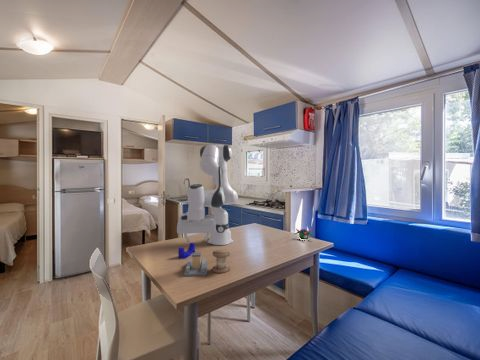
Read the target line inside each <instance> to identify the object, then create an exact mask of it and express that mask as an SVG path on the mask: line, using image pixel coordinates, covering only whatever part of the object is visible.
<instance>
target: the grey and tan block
mask: <svg viewBox="0 0 480 360" xmlns="http://www.w3.org/2000/svg"><path fill="white" fill-rule="evenodd" d="M201 254H202V253H201V252H198V251H197V252H194V253H192V254H191V258H192V269H200V266H201V260H202V259H201Z"/></svg>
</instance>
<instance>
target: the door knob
mask: <svg viewBox="0 0 480 360" xmlns="http://www.w3.org/2000/svg"><path fill="white" fill-rule="evenodd" d="M230 255H231V252H230V250H228V249H217V250H214V251H213V252H212V257H215V259H216V263H215V264H216V265H214V266H212V272H214V273H216V274H225V273H228V272H230V270H231V268H230V266H229V265H228V264H227V257H230Z"/></svg>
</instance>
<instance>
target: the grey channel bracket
mask: <svg viewBox="0 0 480 360" xmlns="http://www.w3.org/2000/svg"><path fill="white" fill-rule="evenodd" d="M201 260H202V261H201V266H200V269H192V257H188V261H187V262H186V266H185V269H184V273H183V277H196V276H197V277H198V276H207V273H208V261H207V259H206V257H202V259H201Z"/></svg>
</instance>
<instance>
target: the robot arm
mask: <svg viewBox="0 0 480 360" xmlns="http://www.w3.org/2000/svg"><path fill="white" fill-rule="evenodd" d="M232 156H233V150H232V147H231V146H230V145H228V144H208V145H204V146H202V147H201V148H200V150H199V157H200V161H199V162H200V163H199V167H200V169H201V172H203V173H204V174H206V175H207V176H211V178H212V182H213V184H215V188H213V189H205V187H204V185H203V184H200V183H197V184H196V183H195V184H191V185H189V186H188V188H187V189H188V191H187V204H188V208H187V212H183V213H181V214H180V215H179V217H178V218H179V220H178V221H177V226H176V233H177V234H178V235H183V237H184V238H185V239H186V240H185V242H186V243H187V242H189V243H190V237H188V236H187V235H189V234H206V236H204V242H207V244H211V245H214V246H225V245H229V244H232V243H234V240H233V238H232V234H231V233H232V232H231V230H230V229H229V228H230V227H229V226H230V225H229V213H228V212H227V210H226V209H224V208H222V206H223V205H226V206H228V205H234V204H236V203H237V201H238V200H239V195H238V193H237V191H236V190H234V189H233V188H232V186H231V184H230V182H229V176H228V161H231V158H232ZM205 207H207V208H208V207H209V208H210V210H211V213H212V214H206V208H205ZM208 238H209V239H208Z"/></svg>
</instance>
